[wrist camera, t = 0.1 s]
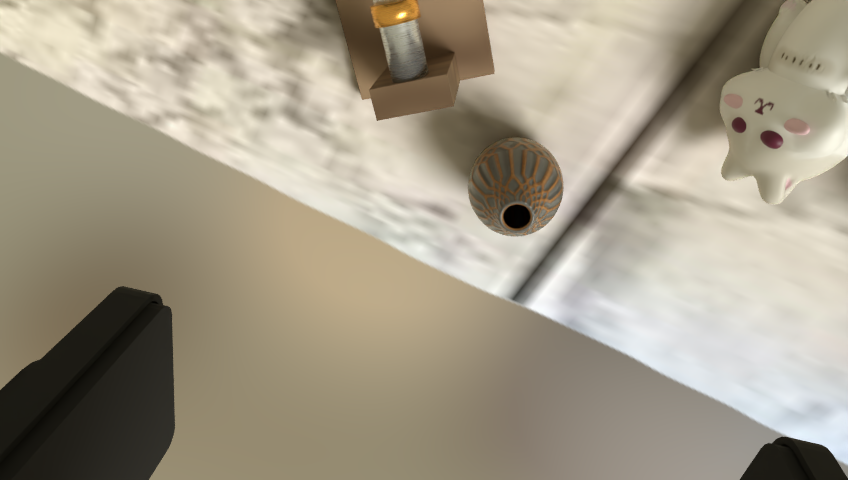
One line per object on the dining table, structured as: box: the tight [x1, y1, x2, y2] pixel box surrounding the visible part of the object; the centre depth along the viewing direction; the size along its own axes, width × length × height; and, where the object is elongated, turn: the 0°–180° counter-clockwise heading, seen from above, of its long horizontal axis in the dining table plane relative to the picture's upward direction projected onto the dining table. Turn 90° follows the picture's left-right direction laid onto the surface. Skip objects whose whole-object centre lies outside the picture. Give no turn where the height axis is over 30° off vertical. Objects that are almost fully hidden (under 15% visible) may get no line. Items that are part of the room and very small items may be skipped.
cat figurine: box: [719, 0, 848, 204], centre depth 37 cm, size 10×8×15 cm
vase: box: [468, 137, 563, 236], centre depth 42 cm, size 7×7×9 cm
